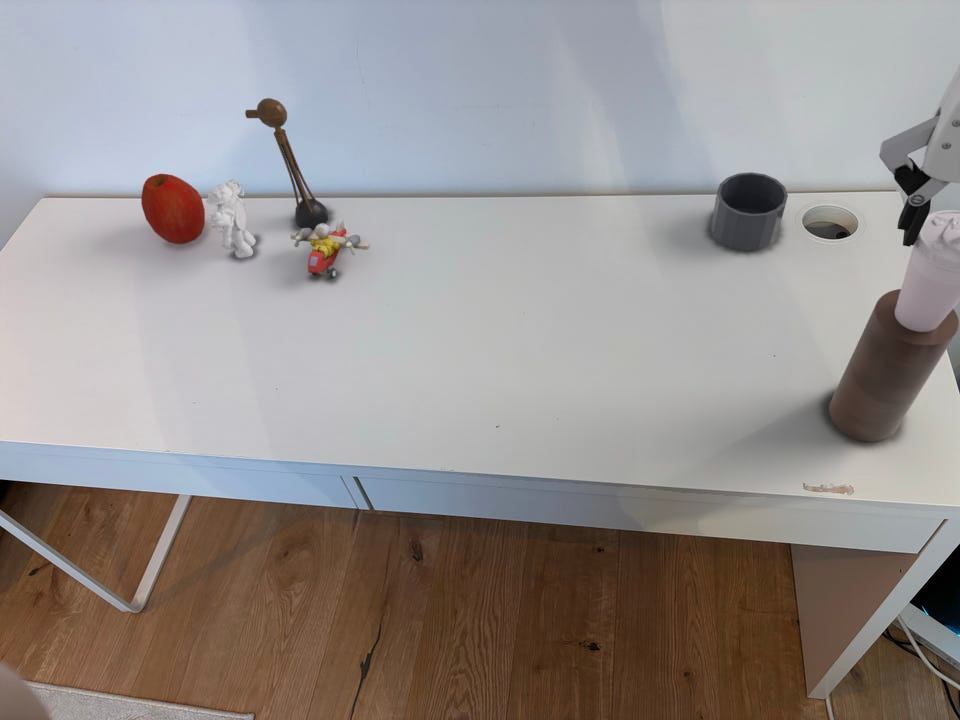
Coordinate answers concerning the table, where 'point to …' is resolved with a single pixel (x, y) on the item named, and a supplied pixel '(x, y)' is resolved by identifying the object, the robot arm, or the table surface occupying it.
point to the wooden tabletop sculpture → (290, 163)
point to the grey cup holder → (748, 211)
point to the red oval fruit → (173, 208)
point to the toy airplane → (327, 246)
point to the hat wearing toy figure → (231, 217)
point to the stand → (887, 372)
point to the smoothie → (932, 274)
